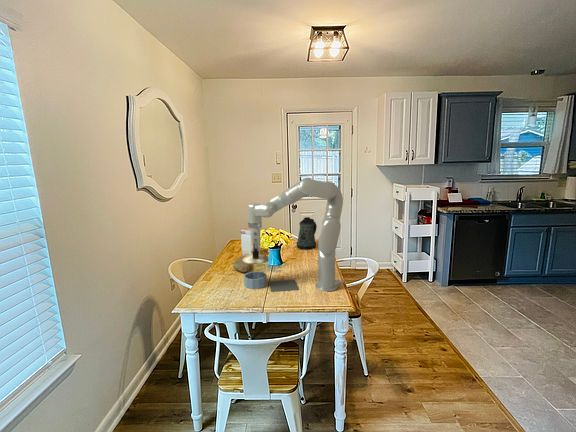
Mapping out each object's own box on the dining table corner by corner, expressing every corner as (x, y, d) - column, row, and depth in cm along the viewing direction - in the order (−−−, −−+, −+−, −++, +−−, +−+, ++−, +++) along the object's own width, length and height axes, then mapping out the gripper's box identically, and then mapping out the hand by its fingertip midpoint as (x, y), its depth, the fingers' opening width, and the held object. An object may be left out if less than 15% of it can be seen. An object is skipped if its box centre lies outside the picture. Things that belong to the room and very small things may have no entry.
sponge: (236, 266, 221) (227, 269, 202) (238, 255, 222) (229, 258, 202) (254, 270, 220) (246, 274, 200) (256, 259, 220) (249, 262, 200)
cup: (265, 280, 190) (265, 271, 189) (267, 288, 178) (267, 278, 177) (244, 281, 189) (243, 272, 188) (244, 290, 176) (244, 280, 175)
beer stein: (294, 249, 257) (294, 219, 252) (300, 243, 275) (299, 215, 271) (314, 250, 252) (314, 220, 248) (318, 244, 270) (318, 215, 266)
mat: (294, 280, 190) (294, 279, 190) (299, 290, 175) (299, 289, 175) (268, 281, 188) (268, 281, 188) (270, 292, 173) (270, 291, 172)
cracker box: (261, 256, 237) (260, 229, 234) (256, 259, 232) (255, 231, 229) (246, 254, 245) (245, 228, 241) (241, 256, 240) (240, 229, 236)
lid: (267, 255, 189) (267, 245, 188) (269, 263, 174) (269, 253, 173) (242, 256, 187) (242, 246, 186) (242, 264, 172) (242, 254, 171)
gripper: (262, 228, 169) (263, 260, 172) (260, 222, 185) (261, 252, 189) (248, 228, 168) (249, 261, 171) (248, 222, 184) (248, 252, 188)
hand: (255, 256), depth 180 cm, fingers closed on lid, 3 cm apart
